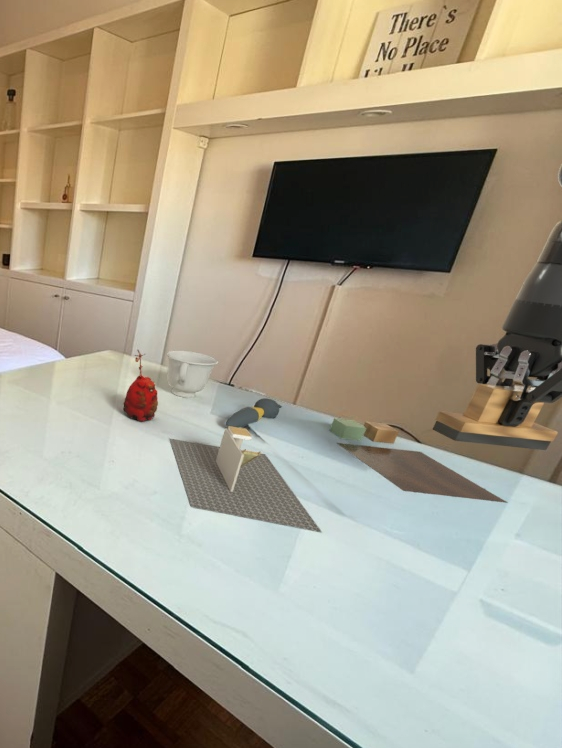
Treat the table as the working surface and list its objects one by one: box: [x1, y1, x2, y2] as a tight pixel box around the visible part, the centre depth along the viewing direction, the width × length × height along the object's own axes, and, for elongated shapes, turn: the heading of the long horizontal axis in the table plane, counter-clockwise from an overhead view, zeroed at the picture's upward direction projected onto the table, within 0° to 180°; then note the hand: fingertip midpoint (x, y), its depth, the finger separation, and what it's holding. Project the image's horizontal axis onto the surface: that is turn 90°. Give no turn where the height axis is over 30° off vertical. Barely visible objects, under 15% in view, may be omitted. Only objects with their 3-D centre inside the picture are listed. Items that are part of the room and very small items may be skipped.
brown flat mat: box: [336, 442, 509, 504], centre depth 83 cm, size 16×18×1 cm
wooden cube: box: [363, 421, 400, 445], centre depth 95 cm, size 4×4×4 cm
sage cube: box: [329, 417, 366, 441], centre depth 96 cm, size 4×4×4 cm
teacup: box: [166, 350, 219, 399], centre depth 115 cm, size 12×15×10 cm
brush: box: [432, 383, 559, 451], centre depth 65 cm, size 12×4×8 cm, turn 83°
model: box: [215, 426, 262, 492], centre depth 77 cm, size 3×11×8 cm, turn 165°
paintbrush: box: [225, 397, 283, 428], centre depth 101 cm, size 20×5×5 cm, turn 126°
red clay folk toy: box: [122, 349, 159, 422], centre depth 99 cm, size 8×7×15 cm
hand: (496, 420), depth 66 cm, fingers closed on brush, 2 cm apart
